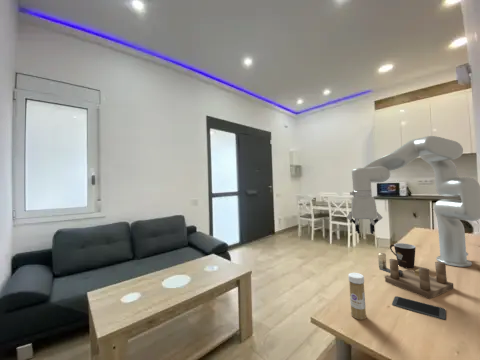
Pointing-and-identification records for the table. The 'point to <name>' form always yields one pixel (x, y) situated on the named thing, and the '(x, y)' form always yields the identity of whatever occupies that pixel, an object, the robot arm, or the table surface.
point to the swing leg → (383, 264)
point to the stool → (420, 280)
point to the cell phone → (420, 307)
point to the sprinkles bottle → (357, 295)
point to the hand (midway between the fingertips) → (365, 232)
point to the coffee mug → (404, 254)
